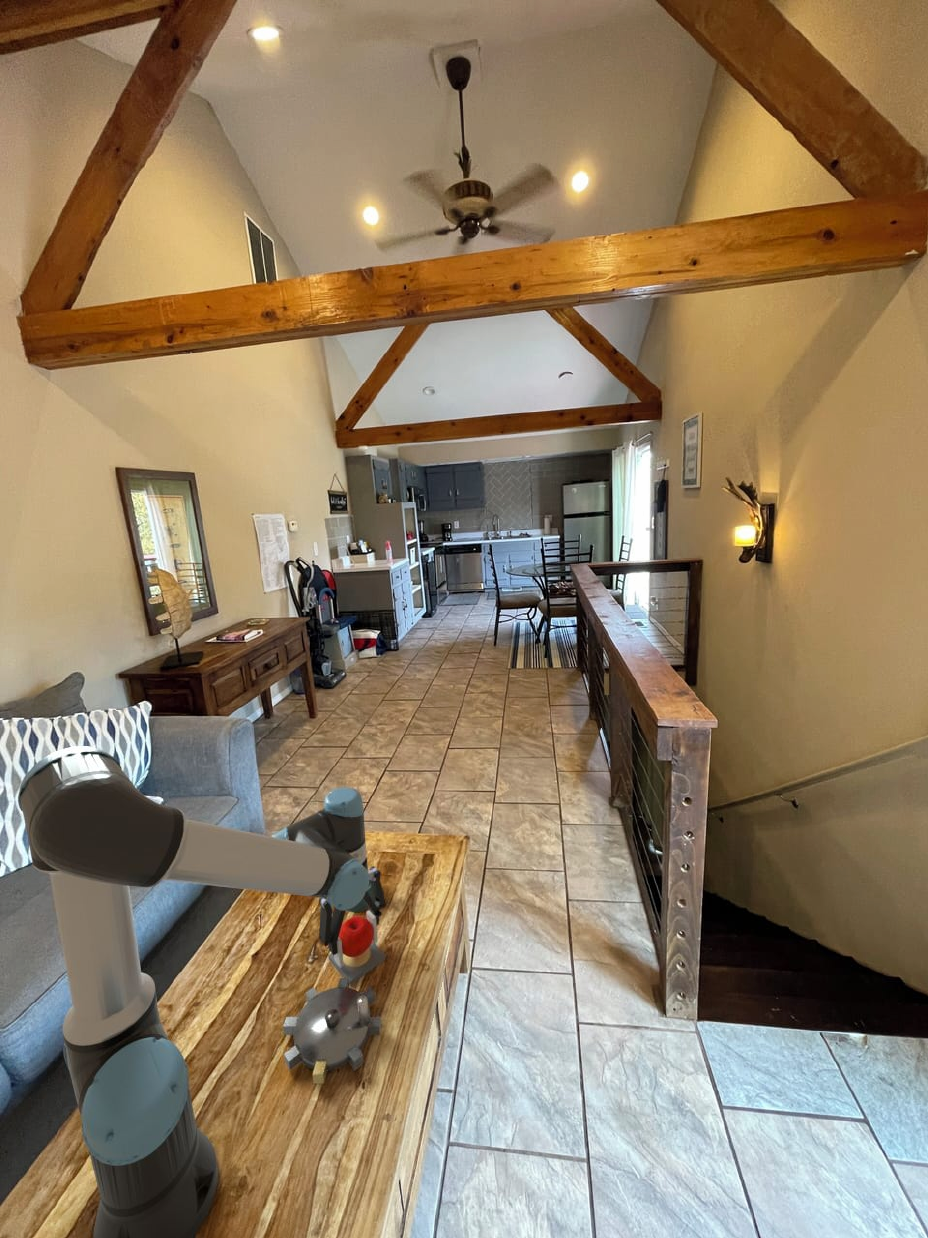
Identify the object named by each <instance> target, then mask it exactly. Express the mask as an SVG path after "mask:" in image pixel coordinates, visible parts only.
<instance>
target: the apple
mask: <svg viewBox="0 0 928 1238" xmlns="http://www.w3.org/2000/svg"><path fill="white" fill-rule="evenodd" d="M373 936H374V931H373V927H372V925H371V923H370V922H369V921H368V920H367V917H363V916H359V915H356V916H352V917H350V918H347V919H346V920H345V921H343V923H342V926H341V930H340V933H339V938H340V939H341V942H342V953H343V954H344V955H346V956H348V957H356V956H359V955H361V954H363V953H364V952H365V951H366V950H367V949H368V948H369V947H370V945H371V943H372V941H373Z"/></svg>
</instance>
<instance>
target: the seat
mask: <svg viewBox="0 0 928 1238" xmlns="http://www.w3.org/2000/svg"><path fill="white" fill-rule="evenodd" d="M327 956H328V960H329V961H330V963H331V964H332V965H333V966H334V968H335V969H336V970H337V971H338V973H339V974H340V975H341V976H342V978H349V986H353V984H355V983H356V982H357V981H358V980H360V979H362V977H364V976H365V975H367V974H368V973H369V972H370V971H372V970H374V968H376V967H377V966H379V965H380V964H381V963H382V962H384V961H385V960H386V958H387V955H386V954H385V953H384V952H383V951H382V949H380V947H378V946H377V944H376V943H374V942H373V941H372V943H371V945H370V947H369V948H368V949H367V950H366V951H365V952H364V953H363V954H361V955H359V956H356V957H348V956H346V955H344V954H343V964H344V966H342V967H341V968H340V967H339V965H338V964H337V963H336V962H335V960H334V955H333V954H332V953H331V952H330V953H329V954H328V955H327Z"/></svg>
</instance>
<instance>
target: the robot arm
mask: <svg viewBox="0 0 928 1238" xmlns="http://www.w3.org/2000/svg"><path fill="white" fill-rule="evenodd" d="M17 802H18V803H17V804H18V807H19V810H20V811H21V812H22V814H23V815H22V816H23V820H24V824H25V831H26V835H27V840H28V846H29V852H30V857H31V862H32V865H33V867H34V869H35V870H36V871H38V872H41V873H45V874H49V876H50V883H51V890H52V895H53V900H54V901H53V902H54V907H55V913H56V918H57V919H56V920H57V924H58V930H59V935H60V940H61V947H62V952H63V953H62V954H63V958H64V963H65V970H66V976H67V981H68V986H69V992H70V993H69V994H70V998H71V999H70V1000H71V1005H72V1006H71V1007H70V1008H69V1009H68V1011H67V1013H66V1015H65V1017H64V1019H63V1022H62V1034H63V1058H64V1061H65V1064H66V1067H67V1069H68V1071H69V1074H70V1079H71V1083H72V1086H73V1087H72V1088H73V1090H74V1096H75V1099H76V1103H77V1108H78V1111H79V1115H80V1119H81V1120H80V1121H81V1132H82V1133H81V1134H82V1139H83V1141H84V1143H85V1147H86V1148H87V1149H88V1152H89V1156H90V1157H89V1158H90V1161H91V1165H92V1168H93V1172H94V1173H93V1174H94V1177H95V1179H96V1180H95V1181H96V1185H97V1188H98V1192H99V1195H100V1198H99V1202H98V1208H97V1212H96V1216H95V1217H96V1218H95V1221H94V1222H95V1223H94V1227H93V1238H195V1237H196V1236H197V1234H198V1232H199V1231H200V1229H201V1228H202V1226H203V1225H204V1222H205V1221H206V1219H207V1217H208V1215H209V1212H210V1210H211V1208H212V1205H213V1203H214V1200H215V1197H216V1193H217V1188H218V1183H219V1165H218V1159H217V1158H218V1157H217V1155H216V1150H215V1148H214V1145H213V1143H212V1141H211V1140H210V1139H209V1137H207V1135H206V1134H204V1132H203V1131H201V1130H200V1128H198V1127H197V1123H196V1118H195V1113H194V1107H193V1101H192V1097H191V1091H190V1085H189V1084H190V1082H189V1081H190V1080H189V1072H188V1071H189V1069H188V1066H187V1062H186V1061H185V1058H184V1056H183V1054H182V1052H181V1051H180V1049H179V1048H178V1046H177V1045H176V1044H175V1043H174V1042H172V1041H171V1040H169V1038H168V1035H167V1032H166V1031H165V1028H164V1027H163V1023H162V1020H161V1017H160V1013H159V1005H158V1001H157V1000H158V999H157V993H156V992H157V991H156V986H155V981H154V979H153V977H151V975H149V974H147V973H144V972H142V970H141V963H140V955H139V947H138V941H137V934H136V926H135V920H134V919H135V917H134V913H133V911H134V910H133V905H132V897H131V890H130V889H131V888H130V887H140V888H153V887H155V886H156V885H158V884H160V883H161V882H162V881H168V882H169V881H170V882H171V881H172V882H178V883H189V884H195V885H197V884H198V885H205V886H214V887H225V888H233V889H241V890H249V891H250V890H251V891H258V892H259V891H260V892H268V893H278V894H285V895H294V896H295V895H296V896H304V897H305V896H306V897H313V898H319V899H318V903H319V904H320V917H319V928H318V929H319V931H318V939H319V940H320V942H321V943H322V944H323V945H324V946H325V947H327V946H328V951H329V952H330V954H331V953H332V954H333V955H334V960H335V962H336V963H337V964H338V965H339V967H340V968H341V967H342V966H344V964H343V953H342V942H341V939H340V938H339V933H340V930H341V926H342V924H343V923H344V920H345V919H344V918H345V915H346V912H348V911H347V910H349V909H351V908H353V907H354V906H356V905H357V904H358V903H359V902H360V901H361V900H362V899H363V901H364V902H365V903H366V905H367V906H368V910H367V911H366V919H367V920H368V921H369V922H370V923H371V925H372V927H373V931H374V936H373V942H374V943H375V944H376V943H378V940H379V939H378V929H377V927H378V926H379V925H380V917H381V916H382V911H381V910H382V909H385V907H386V906H387V902H386V898H385V895H384V890H383V887H382V883H381V874H382V872H381V871H380V870H379V869H378V868H376V866H375V865H372V866H371V867H370V868H368V858H367V857H368V856H367V845H366V844H367V843H366V829H365V809H364V803H363V798H362V794H361V792H359V790H357V789H355V788H353V787H346V786H345V787H339V788H336V789H333V790H331V791H330V792H329V793H328V794H327V795H326V796H325V797H324V802H323V803H324V804H323V807H324V808H322V809H320V810H319V811H317V812H315V813H313V814H312V815H309V816H307V817H305V818H302V819H301V820H299V821H297V822H295V823H292V824H291V825H288V826H285V827H284V828H283V829H281V830H279V831H278V832H276V833H273V834H272V835H271V836H270V835H265V834H261V833H256V832H250V831H245V830H241V829H236V828H232V827H226V826H221V825H218V824H216V825H215V824H212V823H208V822H202V821H196V820H193V819H187V818H186V815H185V813H184V812H183V810H182V809H179V808H176V807H172V806H166V805H163V804H161V803H158V802H157V801H154V800H152V799H151V798H149V797H148V796H146V795H144V794H143V793H142V792H141V791H139V790H138V788H136V786H135V785H134V783H133V782H132V781H131V779H130V778H129V777H128V776H127V775H126V773H125V772H124V771H123V769H122V766H121V765H120V761H118V760H117V758H116V757H115V756H112V755H111V754H110V753H108V752H107V751H105V750H103V749H101V748H97V747H93V746H86V745H85V746H83V745H81V746H80V745H79V746H71V747H66V748H63V749H60V750H56V751H54V752H52V753H50V754H48V755H46V756H45V757H43V758H41V759H40V760H39V761H38V762H36V763H35V764H34V765H33V766H32V767H31V768H30V769H29V770H28V771H27V773H25V775H24V777H23V779H22V781H21V784H20V786H19V792H18V796H17ZM369 879H370V882H371V886H372V890H373V893H374V897H375V900H374V902H373V900H372V899H371V897H370V896H369V894H368V892H367V888H368V886H369ZM333 907H334V909H333Z"/></svg>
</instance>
